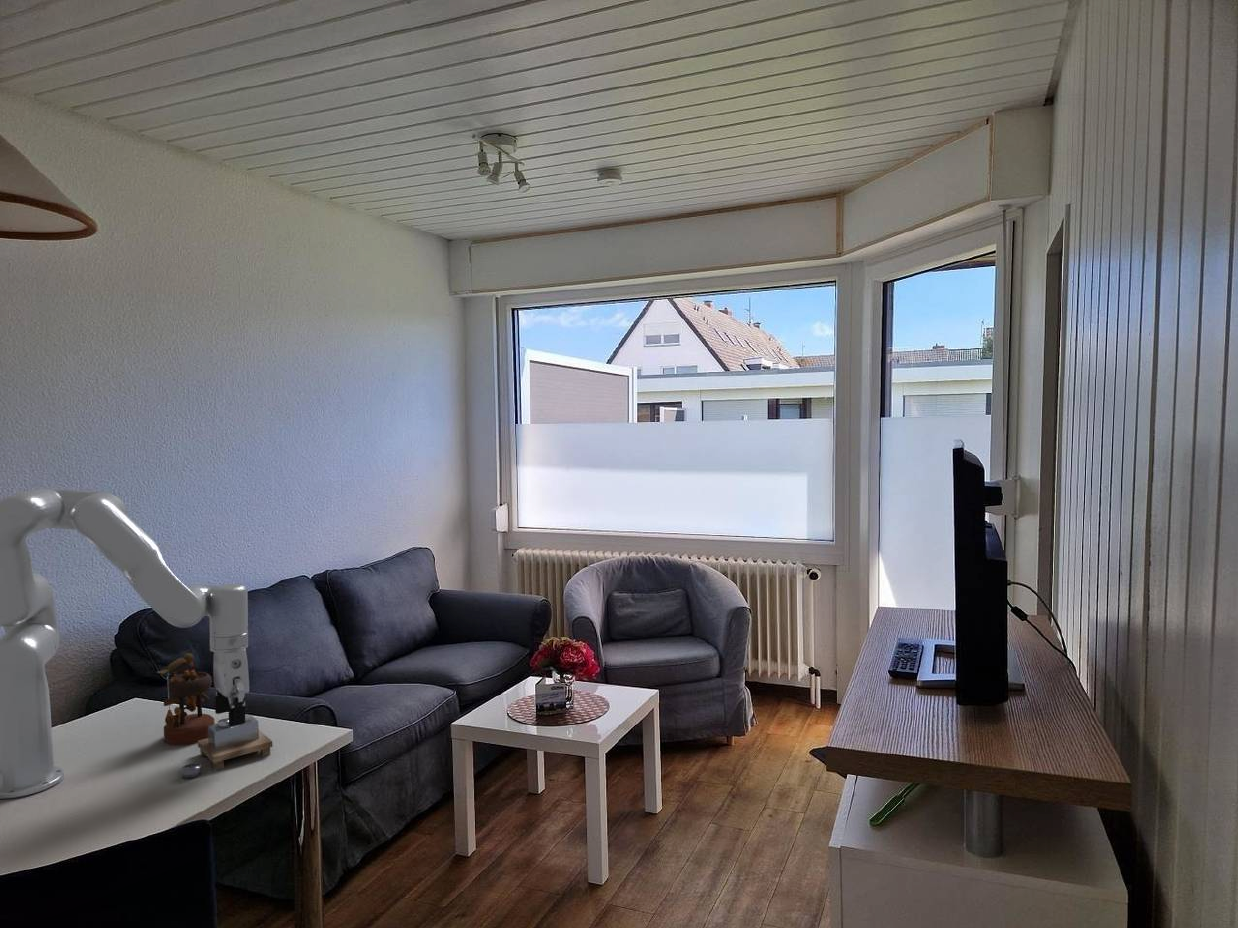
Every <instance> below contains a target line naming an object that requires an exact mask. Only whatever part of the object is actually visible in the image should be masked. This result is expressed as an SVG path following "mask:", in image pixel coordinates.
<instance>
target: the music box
mask: <svg viewBox="0 0 1238 928" xmlns="http://www.w3.org/2000/svg"><path fill="white" fill-rule="evenodd" d="M194 657H195V656H194V655H193V654H192V653H185V654H184V655H183V656H182V657H179V658H177V659H175V660H174V661H173V662H171V663H169V664H167V666H165V667H164V669H161V670H159V671H156V674H159V675H164V674H167V676H166V679H167V684H166V691H167V694H168V695H167V697H168V699H164V700H163V707H167V706H168V709H167V713H166V716H165V718H164V722H165V725H164V726H163V741H164V743H165V744H166V745H170V746H187V745H192V744H196V743H197V744H198V741H199V740H203V739H207V738H208V726H209V725H213V724H215V718H214V717H213V716H212V715H210V714H207V713H203V704H204V703H205V702H209V701H210V697H209V696H208V695H207V694H205V693H207V692H209V691H210V688H211V687H212V683H213V679H212V676H211V675H210V674H209V673H207V672H205V671H195V669H192V670H190V671H189V669H187V668H188V667H189V666H191V667H192V668H193V667H194V663H193V662H194ZM183 670H184V671H183ZM181 671H183V672H184V673H180V674H177V673H178V672H181ZM170 674H173V675H174V676H172V677H171V678H170V679H169V675H170ZM170 696H172V697H171V698H170ZM185 701H186V702H185ZM177 703H178V706H176V707H174V711H173V712H174V714H173V712H172V709H170V707H171V706H170V705H174V704H177ZM185 710H188V711H189V712H191V713H192V712H195V711H196V713H192V714H188V713H187V711H185Z"/></svg>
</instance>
